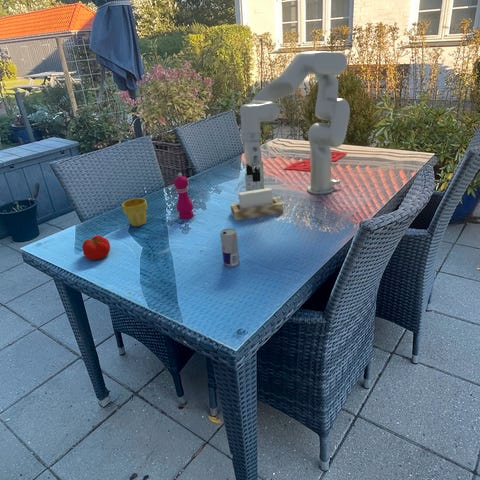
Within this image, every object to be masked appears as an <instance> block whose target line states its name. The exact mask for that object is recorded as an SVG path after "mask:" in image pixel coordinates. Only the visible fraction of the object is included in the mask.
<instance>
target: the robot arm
mask: <svg viewBox="0 0 480 480" xmlns="http://www.w3.org/2000/svg"><path fill="white" fill-rule="evenodd" d="M347 67H348V59H347V57H346V55H345V54H344V53H343V52H340V51H323V50H322V51H318V50H313V51H301V52H299V53H298V54H297V55H296V56H295V57H294V58H293V60H292V61H290V62H289V64H288V65H287V67H286V68H285V70H283V72H281V74H280V75H279V76H278V77H277V78H276V79H274V80H272V81H271V82H270V83H269V84H267V85H265V86H264V87H262V89H260V90H259V91H258V92H257V93H256V95H255V96H254V97H253V99H252V100H251V101H250V102H249V103H244V104H242V105H241V106H240V109H239V110H240V111H239V113H240V125H241V127H240V128H241V142H244V143H243V144H244V146H243V147H244V160H245V165H246V166H245V168H246V169H245V170H246V172H247V175H252V179H253V182H257V181H260V167H259V166H261V165H262V161H263V159H262V150H261V142H260V141H261V140H262V136H261V123H263V122H266V123H267V122H268V123H269V122H273V121H276V119H278V118H279V116H280V114H281V113H280V112H281V109H280V106H279V105H278V104H277V103H276V100H278V99H280V98H284V97H287V96H290V95H292V94H294V93H295V92H296V90H297V89H298V88H299V87H300V85H301V84H302V83H303V82H304V80H306V79H307V77H308V76H310V75H311V76H312V75H313V76H315V77H316V79H317V83H318V88H317V89H318V90H317V96H316V102H315V111H314V113H315V117H316V118H318V119H320V120H324V121H330V123H328V122H326V123H325V122H316V123H313V124H312V125H311V126H310V127H309V129H308V132H307V140H308V143H309V151H310V152H309V153H310V154H309V156H310V157H309V158H310V172H309V173H310V184H309V185H308V186H307V192H308V193H309V194H314V195H327V194H330V193H332V192H333V191H334V190H335V187H334V186H336V185H340V184H341V179H338V180H336V179H332V162H331V151H332V150H331V148H339V147H340V146H342V145H343V144H344V142H345V139H346V137H347V136H346V135H347V131H348V125H349V120H350V115H351V107H350V104H349V102H348V100H346V99H345V98H339V97H338V92H339V81H338V77H337V76H338V75H342V73H344V72H345V70H346V69H347ZM274 101H275V102H274ZM253 164H254V165H253ZM254 167H255V169H254ZM246 172H245V173H246Z"/></svg>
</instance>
